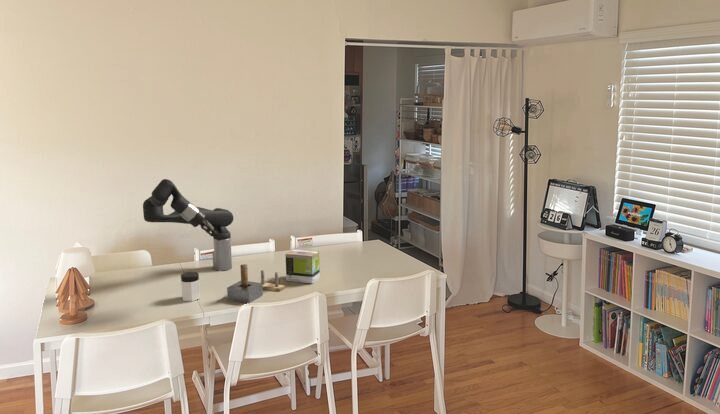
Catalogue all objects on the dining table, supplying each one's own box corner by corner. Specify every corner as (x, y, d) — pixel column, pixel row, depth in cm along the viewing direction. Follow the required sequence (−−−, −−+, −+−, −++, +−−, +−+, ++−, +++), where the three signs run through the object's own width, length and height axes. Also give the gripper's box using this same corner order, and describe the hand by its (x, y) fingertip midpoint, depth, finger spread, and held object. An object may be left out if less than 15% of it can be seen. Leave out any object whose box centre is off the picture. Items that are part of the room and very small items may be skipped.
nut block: (227, 299, 292) (226, 287, 291) (241, 291, 303) (241, 280, 301) (249, 303, 287) (248, 291, 286) (262, 295, 298) (262, 283, 297)
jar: (194, 294, 300) (192, 270, 297) (204, 297, 295) (202, 273, 292) (178, 299, 293) (176, 274, 290) (188, 303, 288) (186, 278, 285)
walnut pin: (240, 294, 294) (239, 265, 291) (244, 292, 297) (242, 264, 294) (246, 295, 293) (244, 266, 290) (249, 292, 295) (248, 264, 292)
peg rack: (255, 287, 308) (254, 271, 307) (260, 284, 313) (260, 268, 311) (279, 291, 303) (279, 275, 301) (284, 288, 308) (284, 272, 306)
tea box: (320, 278, 323) (319, 250, 320) (312, 284, 314) (312, 256, 311) (294, 275, 328) (293, 248, 325) (285, 281, 319) (284, 253, 316)
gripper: (185, 217, 285) (212, 239, 291) (187, 224, 272) (215, 247, 278) (196, 205, 286) (223, 227, 292) (199, 211, 273) (227, 234, 279)
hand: (219, 237), depth 285 cm, fingers open, 8 cm apart
